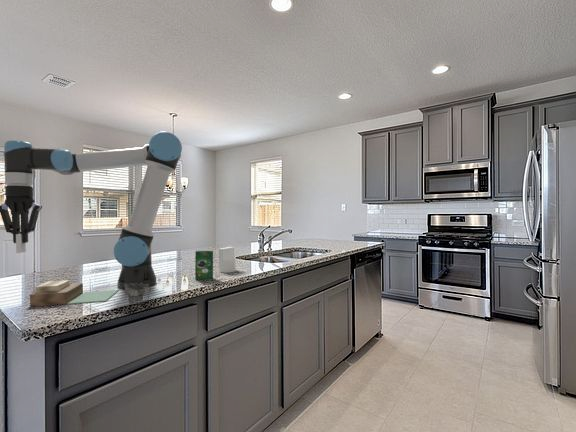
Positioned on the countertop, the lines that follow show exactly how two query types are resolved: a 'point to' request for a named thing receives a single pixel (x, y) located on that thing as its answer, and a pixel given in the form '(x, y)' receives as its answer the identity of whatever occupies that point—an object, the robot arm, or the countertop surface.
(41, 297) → the tan wooden block
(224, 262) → the white upright block
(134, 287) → the egg carton
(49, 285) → the tile
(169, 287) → the countertop surface
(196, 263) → the coffee box
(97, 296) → the mat
